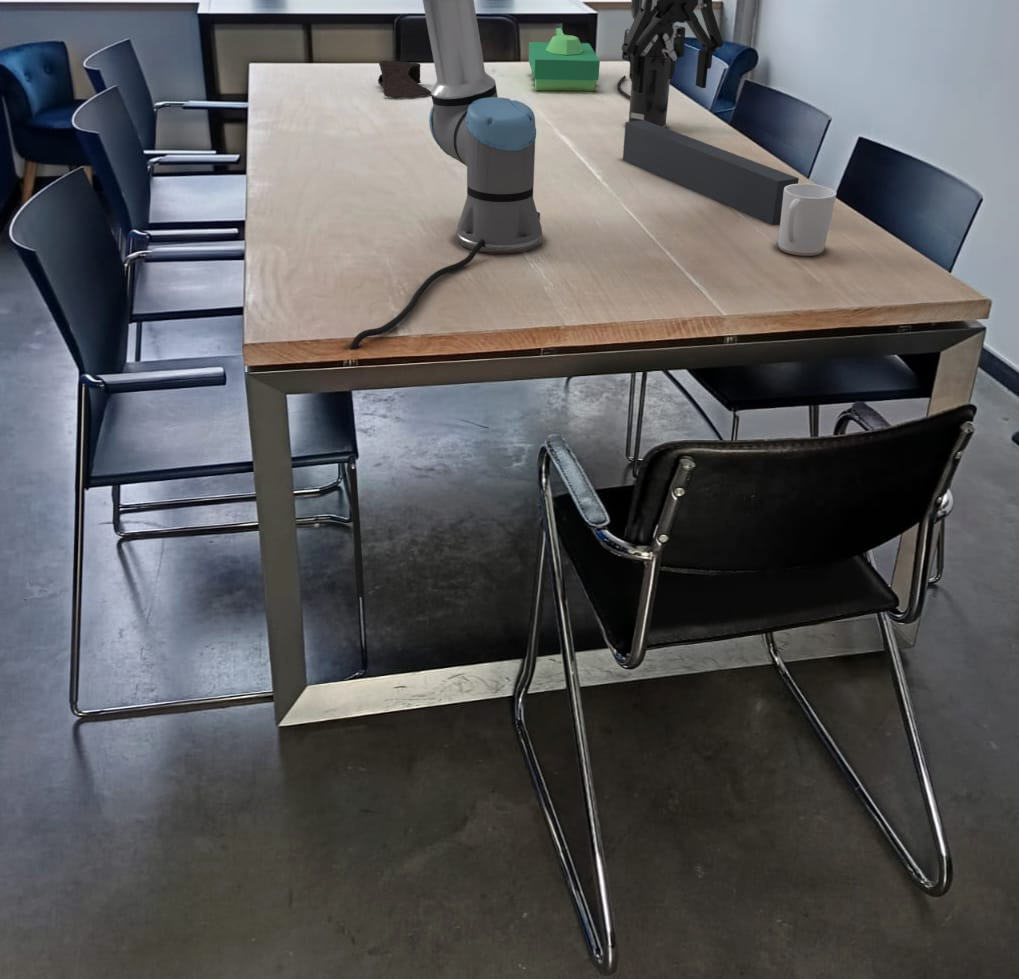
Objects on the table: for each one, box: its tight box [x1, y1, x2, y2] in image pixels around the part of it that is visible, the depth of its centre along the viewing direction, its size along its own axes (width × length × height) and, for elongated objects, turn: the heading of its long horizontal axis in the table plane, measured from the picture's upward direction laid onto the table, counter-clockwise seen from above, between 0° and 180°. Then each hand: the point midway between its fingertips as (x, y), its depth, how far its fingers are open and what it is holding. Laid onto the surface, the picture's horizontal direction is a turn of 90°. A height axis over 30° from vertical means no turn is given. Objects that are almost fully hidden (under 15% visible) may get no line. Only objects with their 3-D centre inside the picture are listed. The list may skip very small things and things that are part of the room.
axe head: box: [377, 59, 431, 99], centre depth 299 cm, size 18×8×15 cm
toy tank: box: [528, 27, 601, 91], centre depth 314 cm, size 18×12×35 cm
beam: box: [622, 120, 800, 225], centre depth 224 cm, size 50×5×8 cm, turn 29°
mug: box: [777, 183, 837, 257], centre depth 191 cm, size 11×9×10 cm
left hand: (669, 89), depth 210 cm, fingers open, 13 cm apart
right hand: (651, 80), depth 232 cm, fingers open, 8 cm apart
